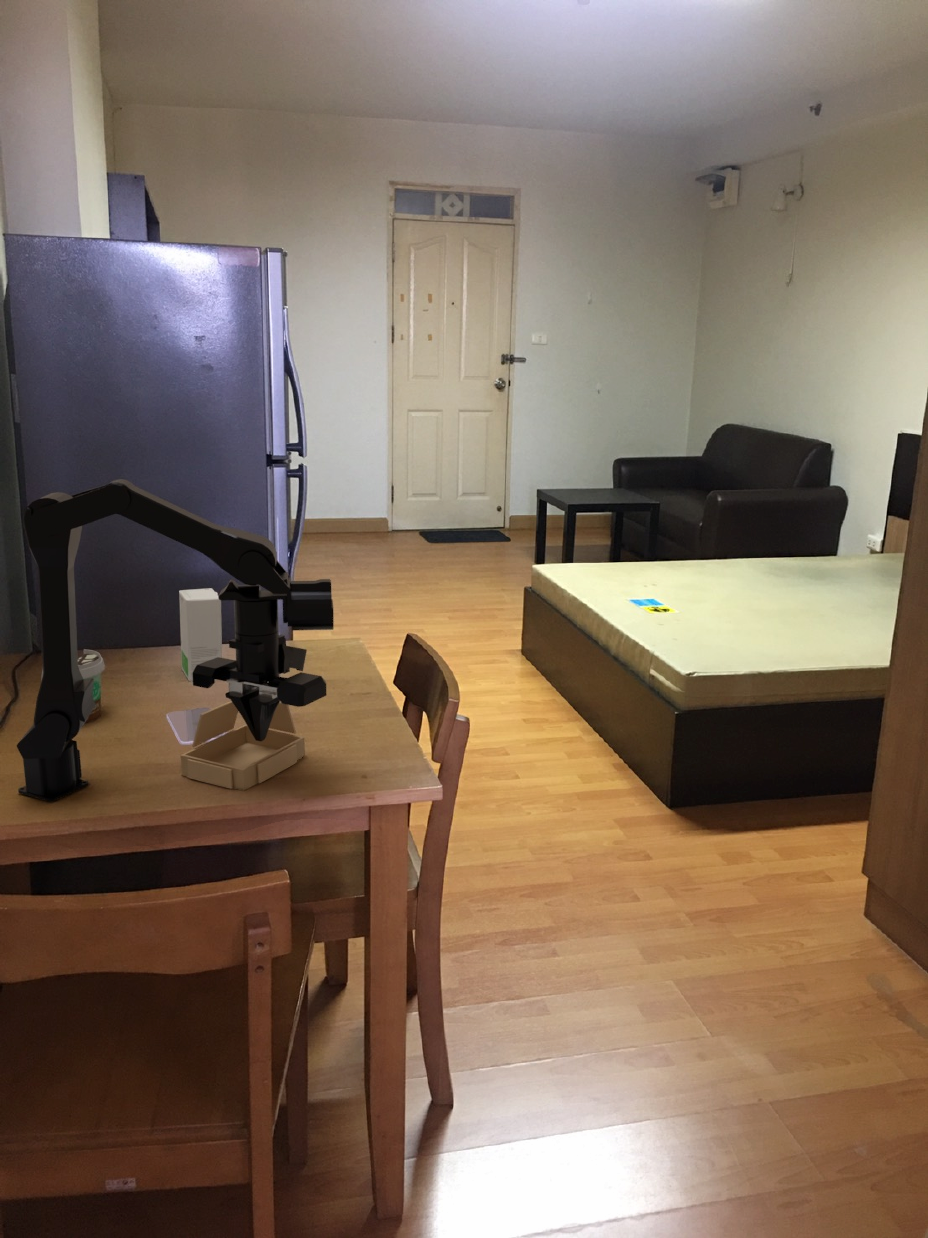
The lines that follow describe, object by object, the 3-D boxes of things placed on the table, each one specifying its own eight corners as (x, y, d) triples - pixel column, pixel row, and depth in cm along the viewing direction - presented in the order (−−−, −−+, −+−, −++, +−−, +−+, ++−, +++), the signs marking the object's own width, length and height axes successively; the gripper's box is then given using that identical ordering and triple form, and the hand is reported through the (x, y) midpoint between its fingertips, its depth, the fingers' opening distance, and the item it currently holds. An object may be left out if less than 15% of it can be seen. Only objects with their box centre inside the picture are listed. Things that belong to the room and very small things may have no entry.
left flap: (193, 747, 138) (202, 715, 136) (192, 746, 138) (200, 713, 136) (233, 728, 145) (242, 697, 143) (231, 727, 145) (240, 696, 143)
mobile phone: (211, 705, 163) (230, 734, 150) (211, 710, 163) (231, 740, 150) (164, 711, 160) (180, 742, 147) (164, 716, 160) (180, 748, 147)
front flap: (295, 733, 144) (286, 704, 141) (254, 724, 147) (244, 695, 144) (296, 732, 144) (287, 703, 141) (255, 723, 147) (245, 694, 144)
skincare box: (181, 669, 184) (176, 589, 180) (216, 666, 187) (212, 587, 183) (189, 682, 177) (184, 599, 173) (225, 678, 180) (221, 596, 176)
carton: (244, 793, 131) (243, 772, 130) (178, 776, 136) (177, 756, 135) (307, 757, 143) (307, 738, 143) (245, 743, 148) (245, 724, 148)
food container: (81, 733, 151) (75, 672, 149) (45, 730, 152) (40, 669, 150) (123, 708, 163) (119, 650, 160) (90, 705, 164) (85, 648, 162)
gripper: (348, 626, 133) (349, 734, 136) (240, 610, 141) (244, 711, 144) (300, 645, 123) (302, 760, 127) (187, 626, 131) (192, 735, 135)
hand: (260, 740), depth 133 cm, fingers closed
